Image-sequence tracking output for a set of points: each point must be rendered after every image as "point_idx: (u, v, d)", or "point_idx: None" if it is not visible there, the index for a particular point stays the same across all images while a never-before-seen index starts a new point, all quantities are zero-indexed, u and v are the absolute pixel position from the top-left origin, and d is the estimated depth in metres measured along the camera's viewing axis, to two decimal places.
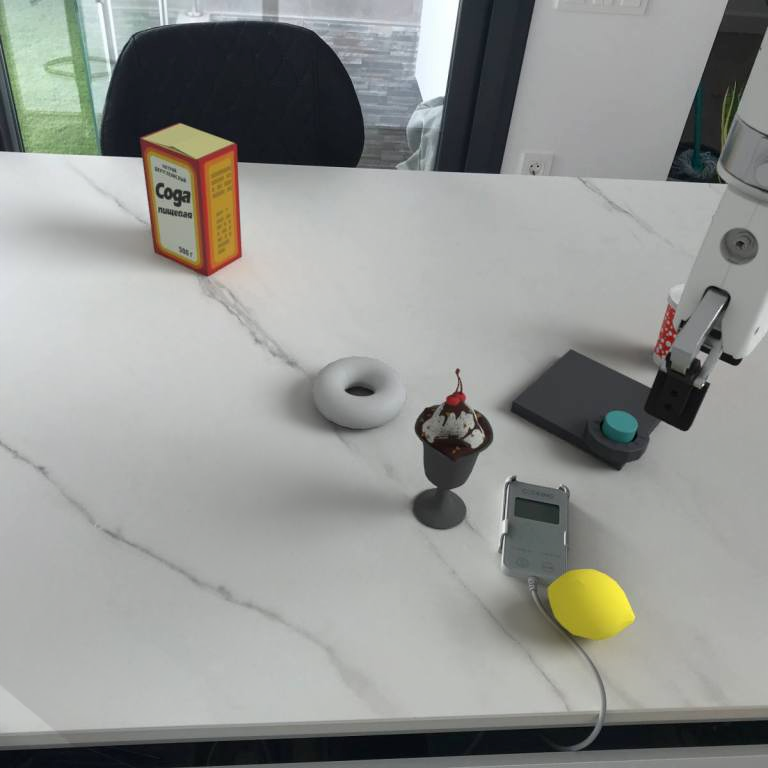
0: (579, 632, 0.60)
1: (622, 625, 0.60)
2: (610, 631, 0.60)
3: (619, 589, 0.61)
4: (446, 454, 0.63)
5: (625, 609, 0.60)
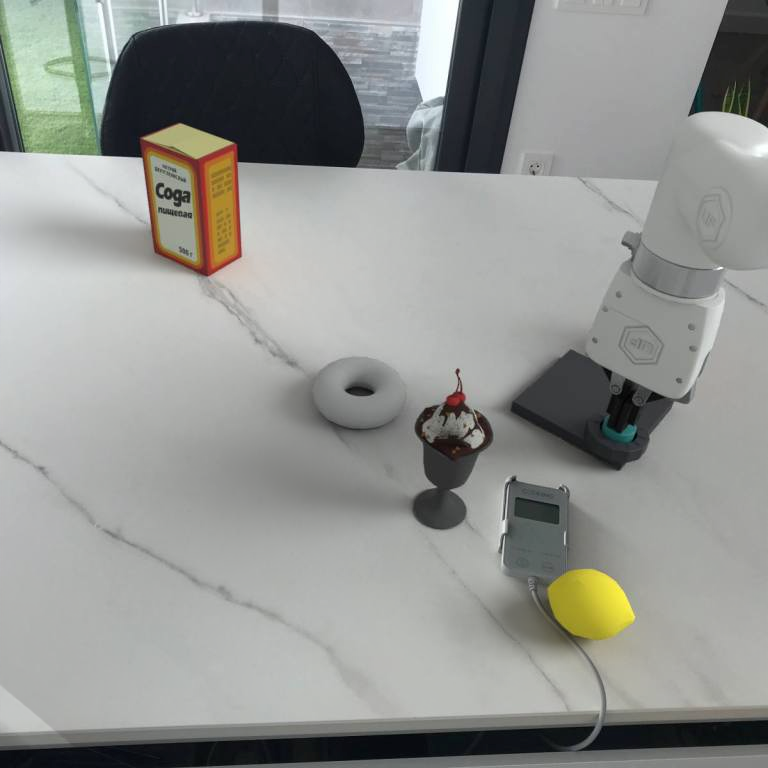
0: (579, 632, 0.60)
1: (622, 625, 0.60)
2: (610, 631, 0.60)
3: (619, 589, 0.61)
4: (446, 454, 0.63)
5: (625, 609, 0.60)
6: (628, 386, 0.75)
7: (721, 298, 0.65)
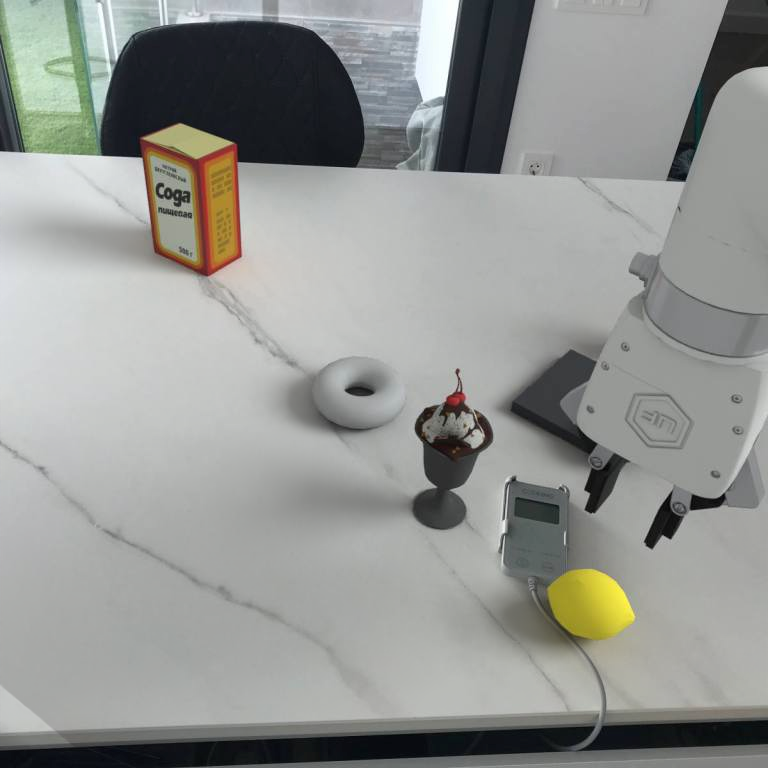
0: (579, 632, 0.60)
1: (622, 625, 0.60)
2: (610, 631, 0.60)
3: (619, 589, 0.61)
4: (446, 454, 0.63)
5: (625, 609, 0.60)
6: (614, 457, 0.53)
7: None
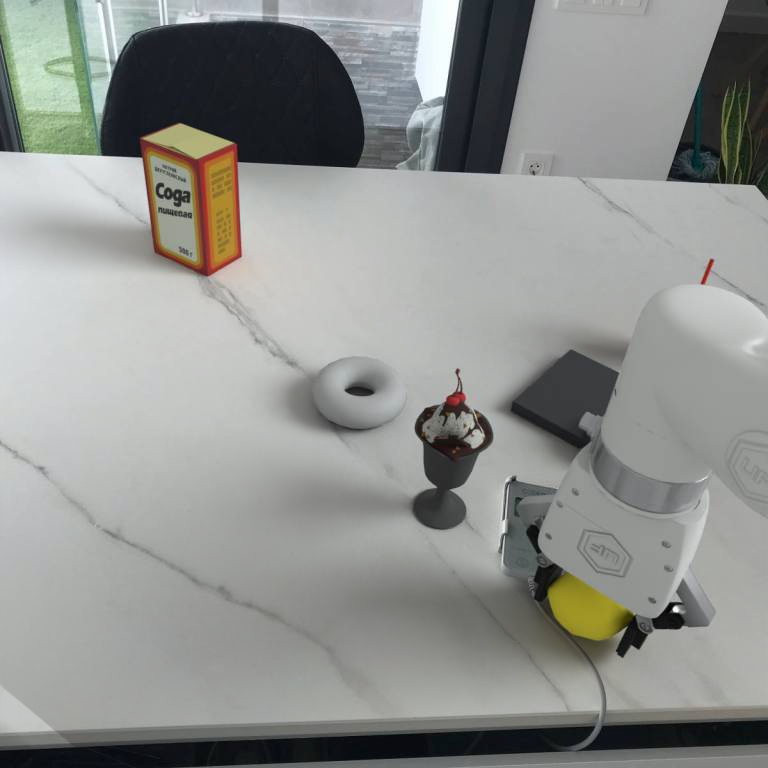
0: (579, 632, 0.60)
1: (621, 625, 0.60)
2: (610, 631, 0.60)
3: None
4: (446, 454, 0.63)
5: (625, 609, 0.60)
6: None
7: (704, 507, 0.51)
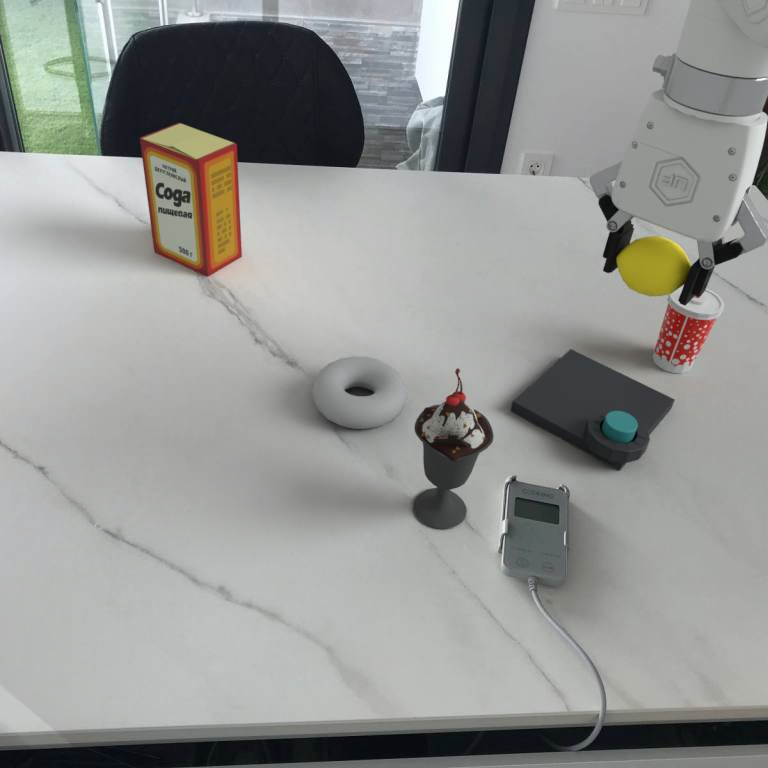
0: (646, 283, 0.69)
1: (683, 276, 0.69)
2: (674, 280, 0.68)
3: (681, 248, 0.69)
4: (446, 454, 0.63)
5: (687, 262, 0.69)
6: (626, 223, 0.70)
7: (764, 120, 0.59)
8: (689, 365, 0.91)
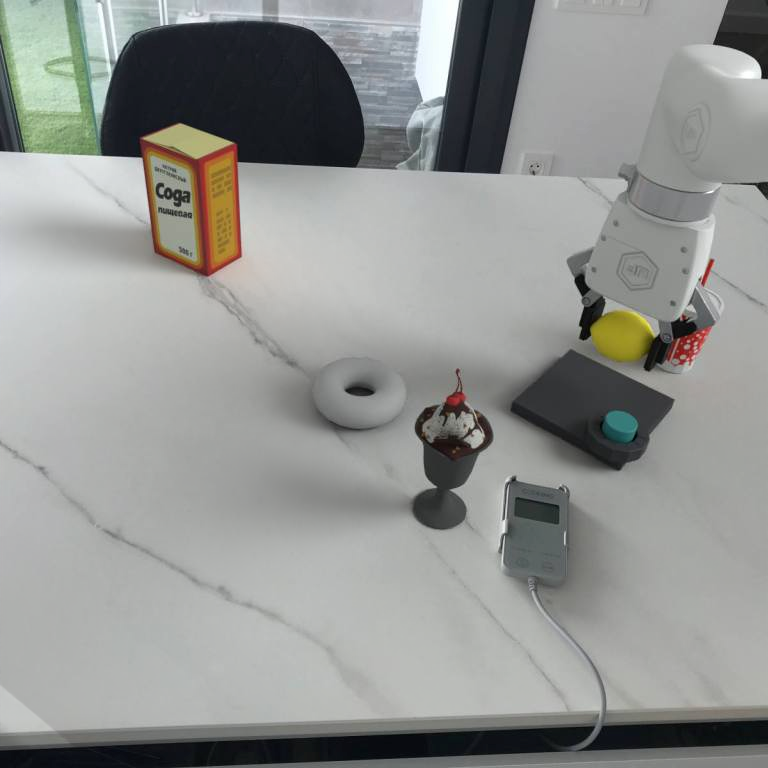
0: (615, 352, 0.79)
1: (648, 346, 0.79)
2: (639, 350, 0.79)
3: (646, 321, 0.80)
4: (446, 454, 0.63)
5: (650, 334, 0.79)
6: (598, 299, 0.80)
7: (711, 223, 0.69)
8: (689, 365, 0.91)
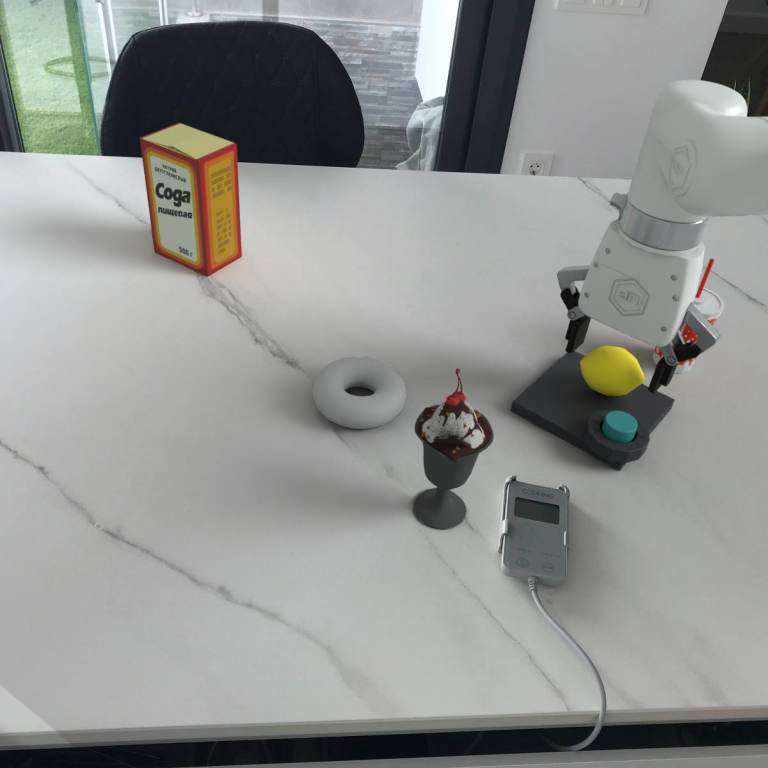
0: (604, 387, 0.82)
1: (635, 381, 0.82)
2: (627, 385, 0.81)
3: (633, 357, 0.82)
4: (446, 454, 0.63)
5: (638, 369, 0.82)
6: None
7: (701, 251, 0.71)
8: (689, 365, 0.91)
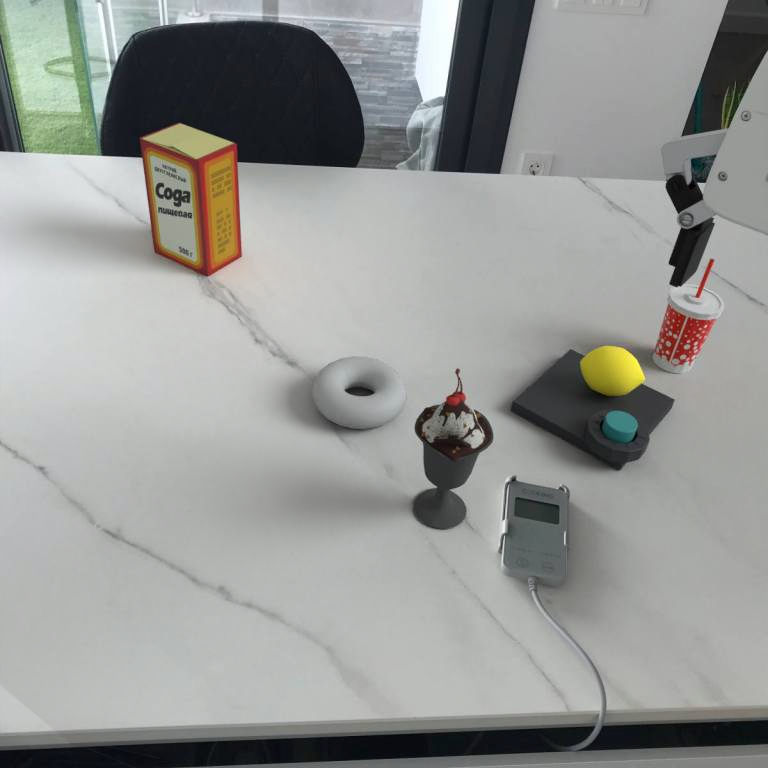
0: (604, 387, 0.82)
1: (635, 381, 0.82)
2: (627, 385, 0.81)
3: (633, 357, 0.82)
4: (446, 454, 0.63)
5: (638, 369, 0.82)
6: None
7: None
8: (689, 365, 0.91)
